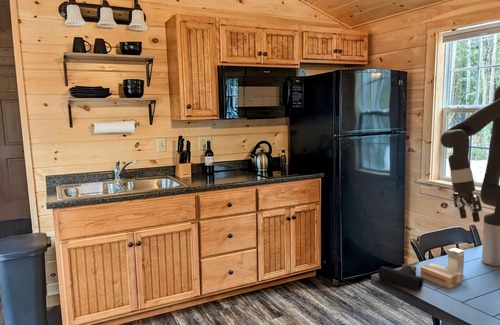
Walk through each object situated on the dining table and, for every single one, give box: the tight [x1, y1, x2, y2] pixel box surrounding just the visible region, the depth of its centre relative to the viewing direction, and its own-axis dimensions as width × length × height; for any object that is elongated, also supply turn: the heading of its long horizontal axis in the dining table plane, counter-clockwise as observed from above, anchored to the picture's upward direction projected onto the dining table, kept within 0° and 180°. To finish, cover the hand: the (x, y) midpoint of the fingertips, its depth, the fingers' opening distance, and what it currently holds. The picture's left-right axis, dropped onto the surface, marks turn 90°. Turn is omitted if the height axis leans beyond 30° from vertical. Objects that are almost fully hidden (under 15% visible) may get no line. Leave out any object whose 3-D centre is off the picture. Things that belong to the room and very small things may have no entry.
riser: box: [420, 262, 462, 289], centre depth 145 cm, size 7×12×4 cm, turn 29°
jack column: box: [447, 247, 465, 277], centre depth 149 cm, size 4×4×10 cm
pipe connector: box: [378, 264, 424, 292], centre depth 145 cm, size 12×5×15 cm
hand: (470, 219), depth 149 cm, fingers open, 8 cm apart
